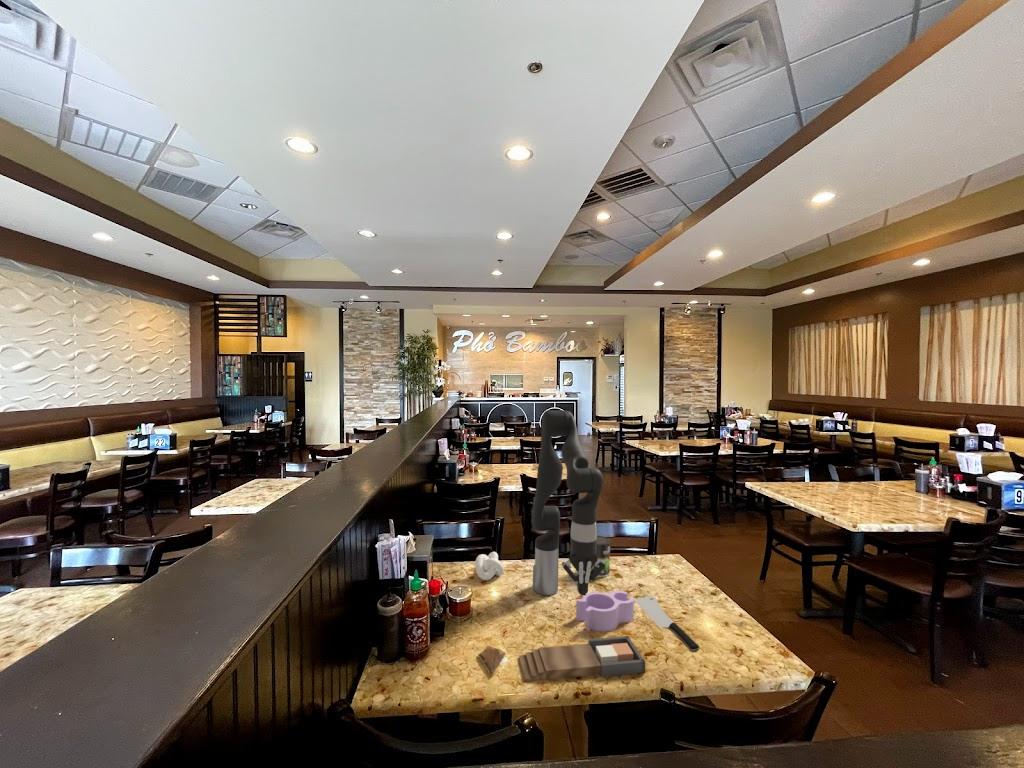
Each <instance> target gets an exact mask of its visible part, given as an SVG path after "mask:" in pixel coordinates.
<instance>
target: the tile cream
mask: <svg viewBox="0 0 1024 768" xmlns="http://www.w3.org/2000/svg"><path fill="white" fill-rule="evenodd" d="M596 657H597V659H598V661H599V663H600V665H601V663H609V662H618V655H617V653H616V652H615V650H614V648H613V646H612V645H604V646H596Z"/></svg>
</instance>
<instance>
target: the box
mask: <svg viewBox="0 0 1024 768" xmlns="http://www.w3.org/2000/svg"><path fill="white" fill-rule="evenodd" d="M619 643H627V644H628V646H629V647H630V649H631V650H632V652H633V653H634V660H631V661H620V662H609V663H601V674H600V676H601V678H602V677H614V676H622V675H634V674H644V673H645V674H646V660H645V659H644V657H643V656H642V654H641V653H640V651H639V649H638V648H637V647H636V645H635V644H634V642H633V641H632V639H631V638H630V637H629V636H628V635H625V636H623V635H622V636H614V637H612V636H611V637H600V638H590V639H588V642H587V644H590V645H591V647H592V649H593V651H594V653H595V655H596V646H604V645H611V644H619Z"/></svg>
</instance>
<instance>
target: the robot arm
mask: <svg viewBox="0 0 1024 768" xmlns="http://www.w3.org/2000/svg"><path fill="white" fill-rule="evenodd" d="M577 428H578V427H577V423H576V420H575V417H574V415H573V414H572V412H571V411H569V410H553V409H552V410H550V409H549V410H546V411H545V412H543V414H542V419H541V434H540V435H541V436H540V450H539V451H540V453H539V459H538V467H537V473H536V474H537V477H536V488H535V494H534V495H535V496H534V500H533V505H532V511H531V525H532V528H533V529H534V530H535V531H538V532H540V531H546V532H545V533H543V534H541V535H539V536H537V537H536V538H535V542H534V543H535V544H534V564H533V565H532V591H535V592H536V593H537V594H540V595H544V596H552V595H555V594H557V593H558V592H559V551H560V550H559V546H560V545H559V544H560V530H561V528H560V527H561V513H560V510H559V507H558V506H557V505H546V503H547V502H548V500H549V498H550V497H552V496H553V494H555V492H556V490H558V488H559V487H560V486H561V483H562V480H563V479H562V478H563V471H564V467H563V463H564V465H565V467H566V468H565V469H566V487H567V489H569V491H570V492H572V493H575V494H586V495H585V496H583V497H581V498H579V499H578V498H577V499H575V500H574V501H573V502H572V505H571V525H570V532H569V534H570V553H569V556H568V559H567V560H566V561H562V563H561V566H562V568H563V569H564V571H565V572H566V573H567V574H568V576H569V577H570V578H571V579H572V581H573V582H574V583H577V584H576V585H577V590H576V591H577V592H578V594H579V595H580V596H582V597H583V596H584V595H586V594H588V593H589V582H591V581H592V582H593V581H595V580H596V579H597V578H598V577H597V576H598V574H599V573H600V572H601V570H602V569H603V568H604V566H605V565H604V563H603V562H602V561H601V560H599V559H598V557H597V555H596V548H597V536H598V535H597V534H598V533H597V532H598V530H597V529H598V528H597V506H598V504H599V500H600V499H599V498H600V496H601V493H602V489H603V486H604V476H603V473H602V472H601V470H600V469H598V468H596V467H589V464H590V463H589V459H588V456H587V455H586V452H585V451H584V449H583V447H582V444H581V441H580V436H579V432H578V429H577ZM553 437H567V438H566V440H565V441H564V443H563V445H562V447H561V457H562V460H563V462H562V461H561V458H560V457H559V456H558V454H557V452H556V451H555V449H554V447H553V443H552V438H553ZM571 565H572V566H573V568H574V570H575V571H576V574H575V573H574V572H573V571H572V570H571V569H572V566H571ZM594 565H595V566H594ZM593 566H594V567H593ZM592 567H593V569H592ZM591 569H592V570H591Z"/></svg>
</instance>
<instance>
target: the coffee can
mask: <svg viewBox="0 0 1024 768" xmlns="http://www.w3.org/2000/svg"><path fill="white" fill-rule="evenodd" d="M610 549H611V540H610V538H609V537H606V536H603V535H597V548H596V555H597V557H598V559H599V560H601V561H602V562H603V563H604V565H605V566H604V568H603V569H602V570H601V572H600V573H599V574H598V576H597V577H596V578H606V577H608V576H609V575H610V573H611V572H610V571H611V570H610V566H611V565H610V563H611V558H610V557H611V550H610ZM594 566H595V565H594ZM594 566H593V567H594ZM593 567H592V569H593ZM592 569H591V570H592Z"/></svg>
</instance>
